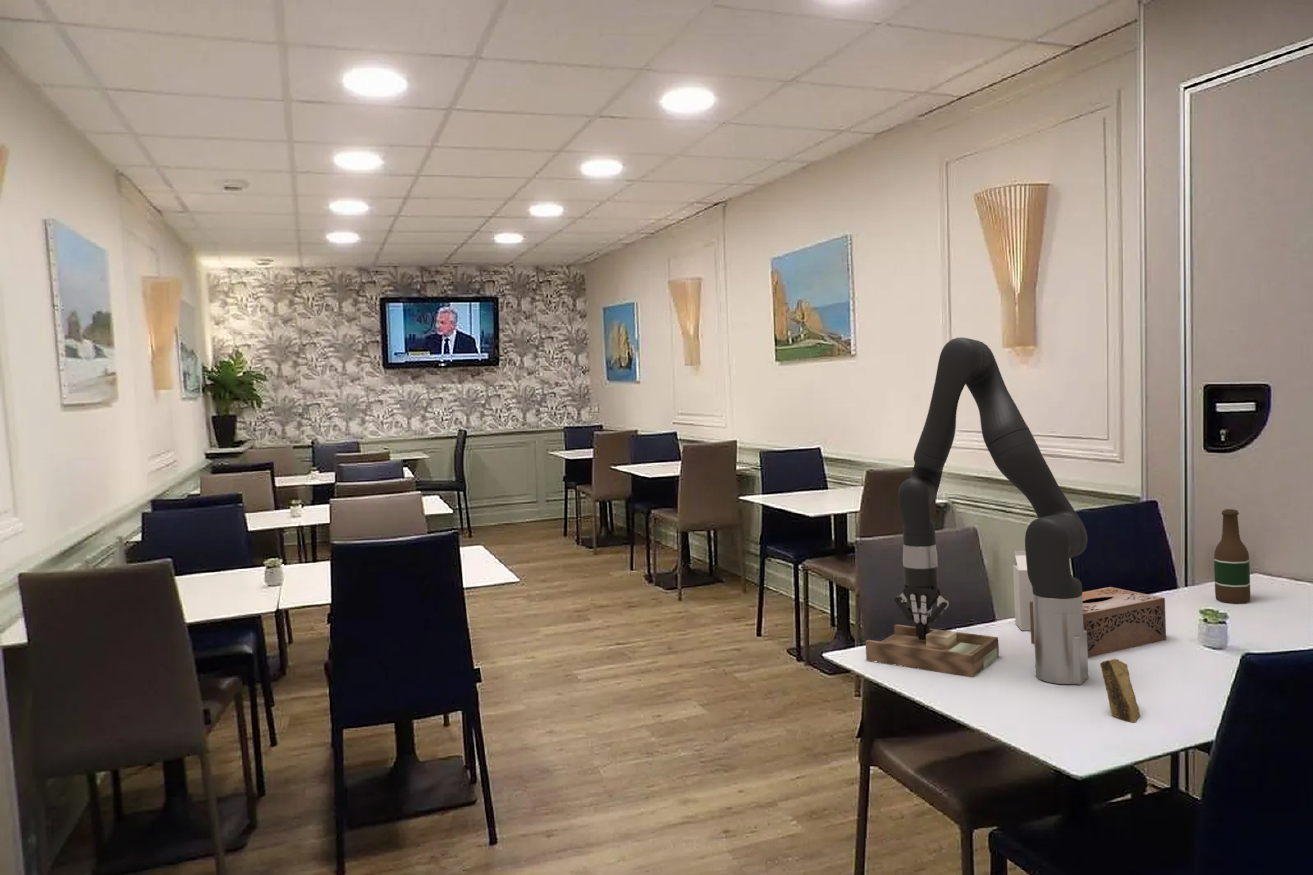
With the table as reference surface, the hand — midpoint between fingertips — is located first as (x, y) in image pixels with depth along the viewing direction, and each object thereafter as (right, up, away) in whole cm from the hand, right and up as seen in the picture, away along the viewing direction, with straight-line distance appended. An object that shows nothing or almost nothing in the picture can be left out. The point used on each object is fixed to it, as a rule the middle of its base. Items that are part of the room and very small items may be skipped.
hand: (923, 639), depth 202 cm
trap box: (+1, -3, -5) cm, 6 cm away
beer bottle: (+90, +3, +30) cm, 95 cm away
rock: (+25, -4, -42) cm, 48 cm away
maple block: (+3, -1, -3) cm, 4 cm away
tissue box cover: (+41, -1, +1) cm, 41 cm away
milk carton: (+32, -1, +16) cm, 36 cm away
